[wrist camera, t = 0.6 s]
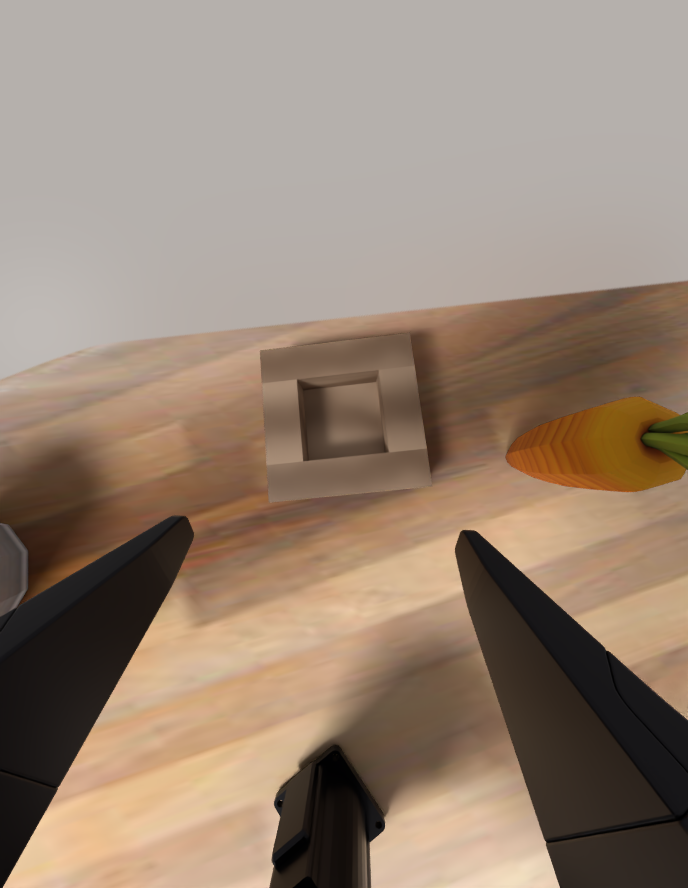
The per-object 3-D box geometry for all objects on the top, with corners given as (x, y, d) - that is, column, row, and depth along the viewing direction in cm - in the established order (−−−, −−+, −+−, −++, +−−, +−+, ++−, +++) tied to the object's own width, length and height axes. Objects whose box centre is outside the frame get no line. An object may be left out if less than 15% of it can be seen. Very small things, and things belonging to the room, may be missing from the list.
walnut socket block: (420, 484, 23) (432, 486, 19) (281, 498, 23) (268, 502, 20) (402, 352, 25) (409, 332, 21) (273, 368, 25) (260, 350, 22)
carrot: (509, 420, 23) (784, 321, 8) (548, 461, 23) (921, 433, 8) (470, 454, 23) (679, 414, 8) (508, 496, 22) (812, 537, 7)
